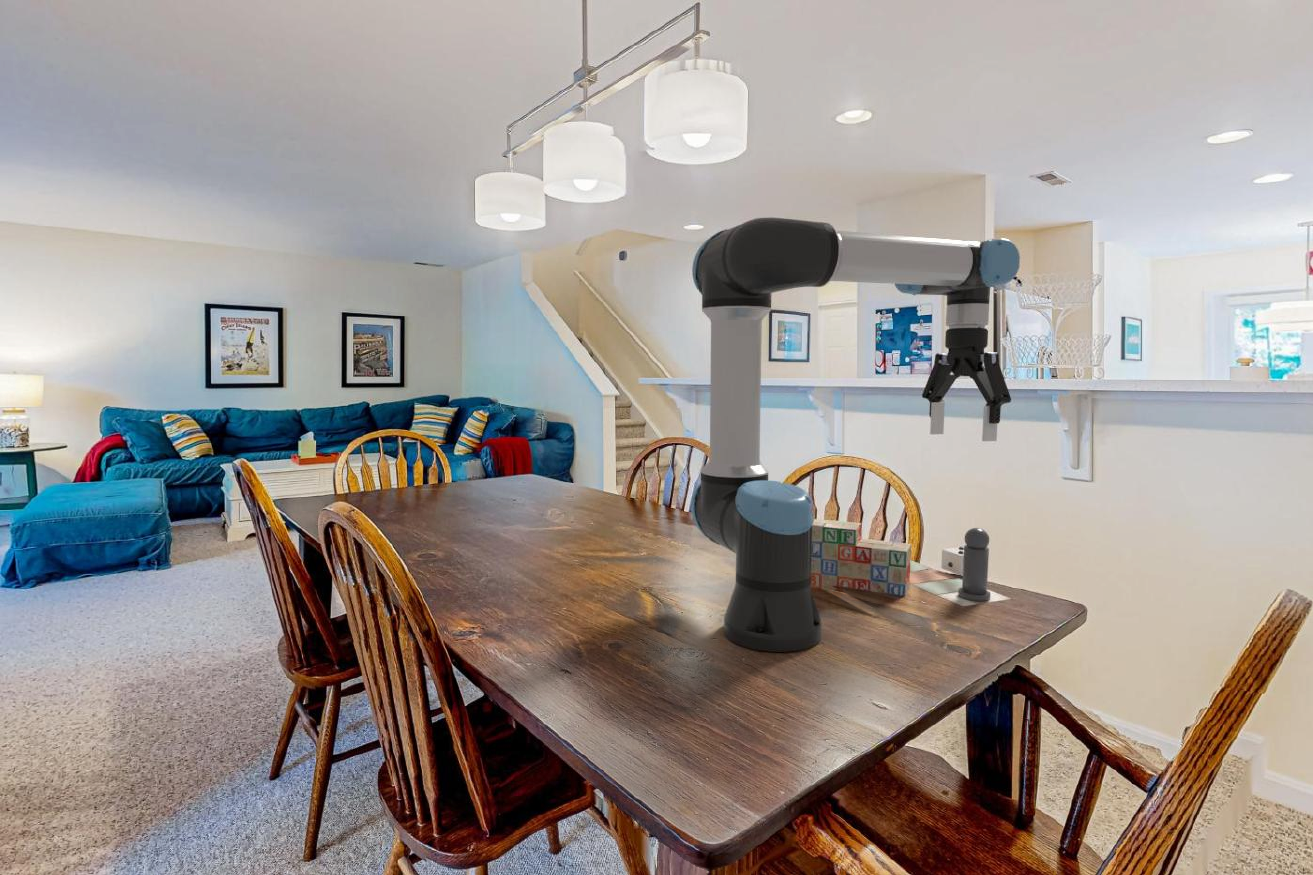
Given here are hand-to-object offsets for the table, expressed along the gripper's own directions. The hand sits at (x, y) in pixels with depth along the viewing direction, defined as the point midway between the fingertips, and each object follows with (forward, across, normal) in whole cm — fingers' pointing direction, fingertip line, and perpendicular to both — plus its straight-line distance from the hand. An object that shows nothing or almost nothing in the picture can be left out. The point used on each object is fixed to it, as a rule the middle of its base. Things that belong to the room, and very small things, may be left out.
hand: (961, 437), depth 137 cm
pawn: (+27, -13, +8) cm, 31 cm away
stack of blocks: (+28, +2, +24) cm, 37 cm away
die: (+28, +1, -2) cm, 28 cm away
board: (+28, -3, +8) cm, 29 cm away
